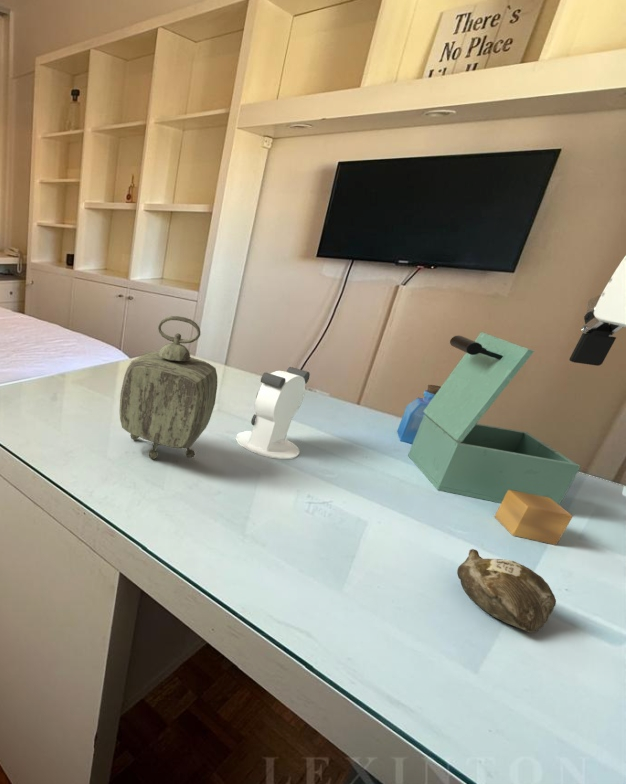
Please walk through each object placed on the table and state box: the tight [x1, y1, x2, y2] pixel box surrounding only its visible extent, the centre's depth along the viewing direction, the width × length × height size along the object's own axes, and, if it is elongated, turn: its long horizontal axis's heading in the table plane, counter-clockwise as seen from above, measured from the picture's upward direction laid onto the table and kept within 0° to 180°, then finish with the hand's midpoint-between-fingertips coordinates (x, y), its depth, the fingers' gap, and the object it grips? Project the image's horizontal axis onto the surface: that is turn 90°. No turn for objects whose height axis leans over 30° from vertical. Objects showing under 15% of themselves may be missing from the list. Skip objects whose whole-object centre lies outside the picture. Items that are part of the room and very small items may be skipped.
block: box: [494, 490, 574, 546], centre depth 67 cm, size 5×5×5 cm
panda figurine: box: [235, 366, 311, 460], centre depth 87 cm, size 12×11×15 cm
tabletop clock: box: [119, 315, 218, 460], centre depth 78 cm, size 14×9×25 cm, turn 57°
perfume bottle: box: [396, 384, 442, 445], centre depth 95 cm, size 6×6×12 cm
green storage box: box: [407, 415, 582, 506], centre depth 79 cm, size 16×14×9 cm
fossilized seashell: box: [456, 548, 557, 633], centre depth 52 cm, size 8×7×10 cm
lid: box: [423, 331, 535, 442], centre depth 77 cm, size 16×14×6 cm
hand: (611, 372), depth 58 cm, fingers open, 9 cm apart
